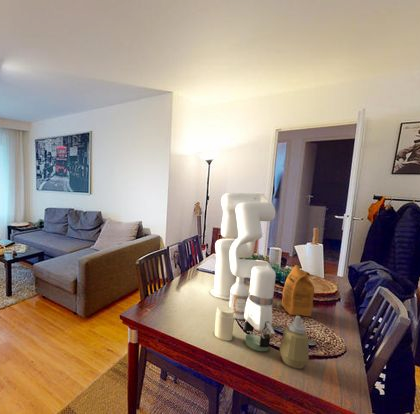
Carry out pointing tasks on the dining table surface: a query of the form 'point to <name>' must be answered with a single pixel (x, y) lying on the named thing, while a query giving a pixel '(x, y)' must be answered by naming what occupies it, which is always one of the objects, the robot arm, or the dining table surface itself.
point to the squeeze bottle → (295, 344)
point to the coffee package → (298, 293)
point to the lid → (254, 342)
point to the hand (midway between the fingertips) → (256, 338)
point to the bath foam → (238, 298)
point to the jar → (224, 322)
